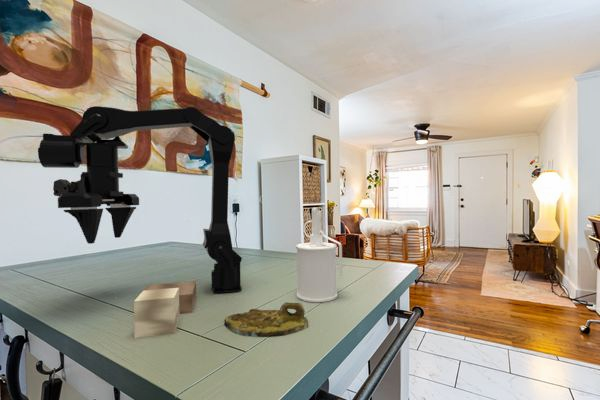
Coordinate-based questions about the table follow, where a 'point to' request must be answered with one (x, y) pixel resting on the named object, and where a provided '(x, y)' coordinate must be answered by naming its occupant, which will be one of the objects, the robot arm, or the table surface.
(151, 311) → the maple cube
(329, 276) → the white cylinder with spout
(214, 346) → the table surface
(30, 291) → the table surface
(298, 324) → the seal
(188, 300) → the walnut block
